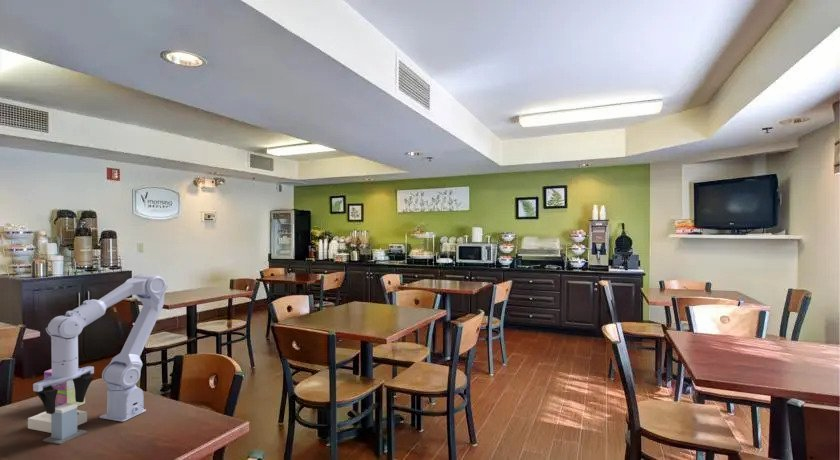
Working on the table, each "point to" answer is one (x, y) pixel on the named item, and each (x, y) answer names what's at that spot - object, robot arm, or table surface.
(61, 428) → the plug
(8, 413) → the table surface
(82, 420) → the frame
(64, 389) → the box
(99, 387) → the table surface
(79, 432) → the mat
